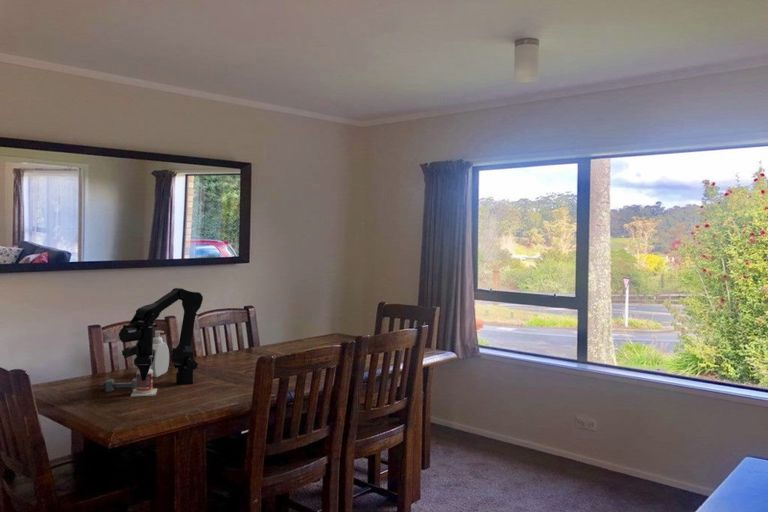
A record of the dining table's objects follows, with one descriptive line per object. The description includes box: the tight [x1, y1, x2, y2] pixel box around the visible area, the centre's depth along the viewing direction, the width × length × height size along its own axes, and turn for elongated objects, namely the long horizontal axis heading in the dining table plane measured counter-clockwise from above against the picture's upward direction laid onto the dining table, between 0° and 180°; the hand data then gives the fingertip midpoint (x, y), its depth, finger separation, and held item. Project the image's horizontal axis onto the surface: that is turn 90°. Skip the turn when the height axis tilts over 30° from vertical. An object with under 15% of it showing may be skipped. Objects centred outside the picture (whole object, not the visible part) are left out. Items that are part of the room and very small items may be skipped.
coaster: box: [130, 388, 158, 398], centre depth 241 cm, size 9×9×1 cm
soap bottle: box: [150, 330, 170, 378], centre depth 273 cm, size 16×5×20 cm, turn 177°
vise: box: [98, 377, 136, 393], centre depth 246 cm, size 15×8×4 cm, turn 106°
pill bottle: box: [135, 367, 154, 393], centre depth 241 cm, size 6×6×11 cm
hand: (144, 377), depth 240 cm, fingers open, 9 cm apart
